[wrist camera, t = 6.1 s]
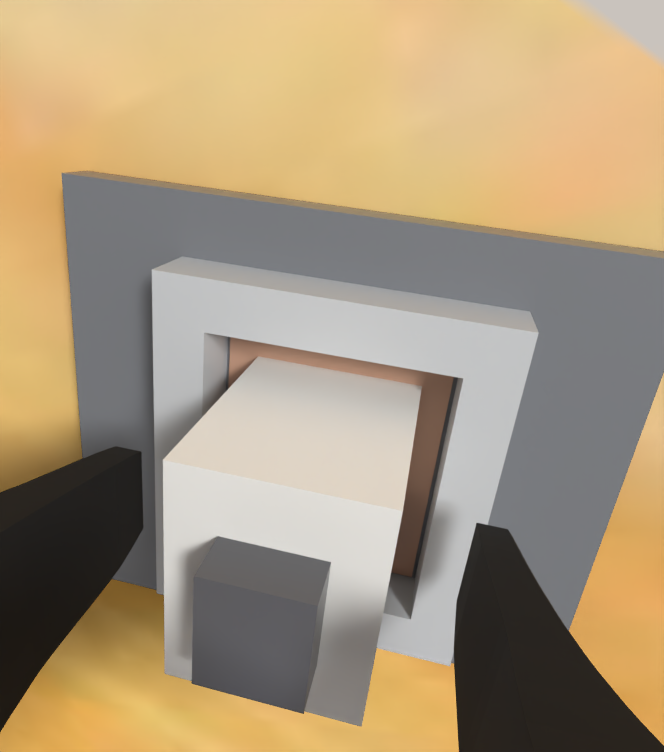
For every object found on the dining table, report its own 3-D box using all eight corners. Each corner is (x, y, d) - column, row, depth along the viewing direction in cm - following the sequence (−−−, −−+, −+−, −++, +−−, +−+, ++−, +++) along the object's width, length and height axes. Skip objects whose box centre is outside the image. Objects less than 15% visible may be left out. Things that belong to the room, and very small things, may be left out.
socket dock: (543, 657, 17) (556, 736, 15) (108, 552, 19) (61, 608, 17) (685, 254, 12) (736, 280, 10) (86, 170, 14) (16, 177, 12)
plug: (390, 554, 16) (352, 779, 10) (247, 522, 16) (139, 719, 11) (421, 386, 14) (396, 552, 8) (258, 356, 14) (131, 493, 9)
